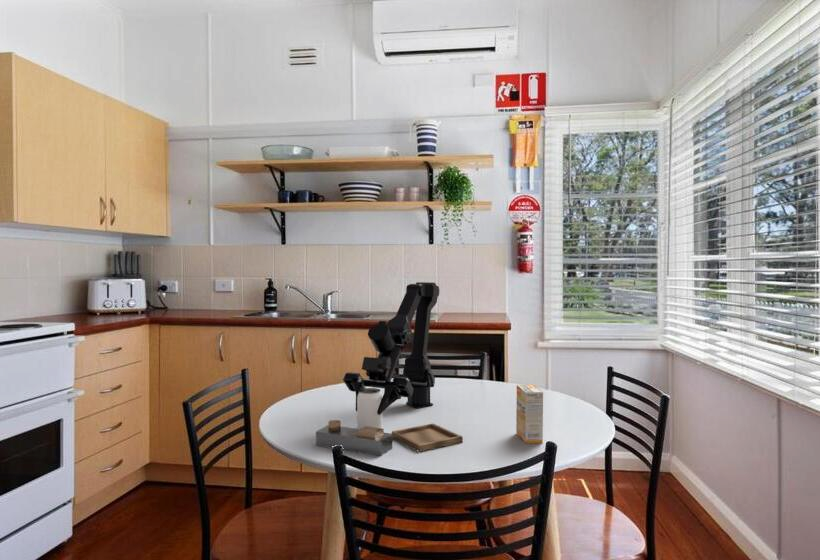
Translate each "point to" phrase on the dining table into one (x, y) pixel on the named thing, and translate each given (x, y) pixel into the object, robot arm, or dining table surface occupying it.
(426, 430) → the walnut tray
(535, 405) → the supplement box
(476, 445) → the dining table surface
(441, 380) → the dining table surface
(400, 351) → the robot arm
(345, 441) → the iron block
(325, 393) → the dining table surface
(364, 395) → the can
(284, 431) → the dining table surface
